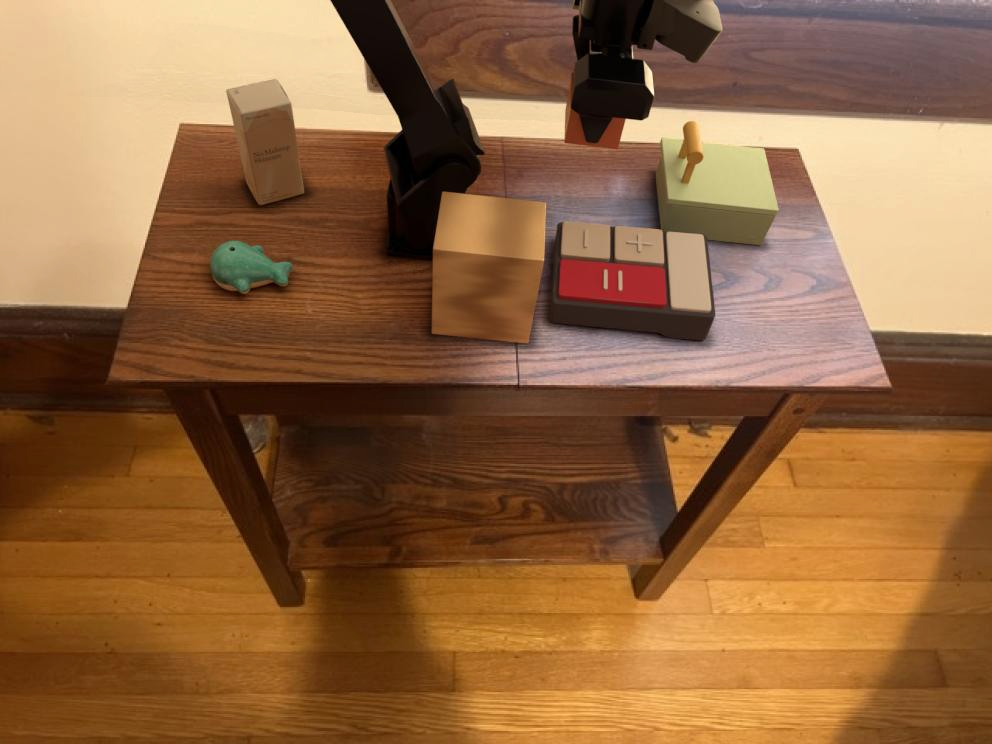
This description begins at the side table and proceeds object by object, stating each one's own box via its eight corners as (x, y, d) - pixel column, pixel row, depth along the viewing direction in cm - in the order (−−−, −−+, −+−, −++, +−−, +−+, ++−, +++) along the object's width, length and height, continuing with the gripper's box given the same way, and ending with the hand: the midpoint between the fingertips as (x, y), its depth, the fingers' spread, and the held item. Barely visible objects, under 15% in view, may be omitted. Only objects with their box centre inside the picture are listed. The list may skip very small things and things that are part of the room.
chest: (661, 235, 78) (671, 204, 75) (655, 173, 84) (665, 143, 80) (760, 245, 78) (776, 216, 75) (748, 184, 84) (761, 154, 81)
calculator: (558, 215, 73) (709, 228, 73) (554, 246, 76) (698, 259, 76) (553, 297, 67) (718, 312, 66) (548, 327, 70) (706, 341, 70)
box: (259, 207, 76) (236, 114, 67) (245, 181, 78) (221, 88, 69) (307, 193, 77) (292, 100, 68) (293, 168, 79) (276, 76, 70)
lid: (666, 203, 75) (679, 165, 71) (659, 142, 80) (671, 104, 76) (776, 215, 75) (795, 178, 71) (762, 153, 81) (779, 116, 77)
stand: (431, 334, 68) (432, 249, 59) (439, 278, 72) (442, 191, 63) (528, 343, 68) (544, 260, 59) (531, 288, 72) (546, 202, 63)
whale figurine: (226, 251, 72) (217, 222, 68) (300, 262, 72) (295, 233, 68) (205, 295, 68) (195, 267, 65) (283, 307, 68) (276, 279, 65)
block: (564, 143, 68) (572, 100, 64) (565, 110, 70) (572, 68, 67) (617, 149, 68) (629, 106, 64) (616, 116, 71) (627, 74, 67)
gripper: (749, 27, 51) (684, 200, 63) (720, -91, 62) (670, 77, 74) (589, 8, 50) (556, 186, 63) (589, -107, 61) (560, 64, 74)
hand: (591, 124), depth 69 cm, fingers closed on block, 5 cm apart
